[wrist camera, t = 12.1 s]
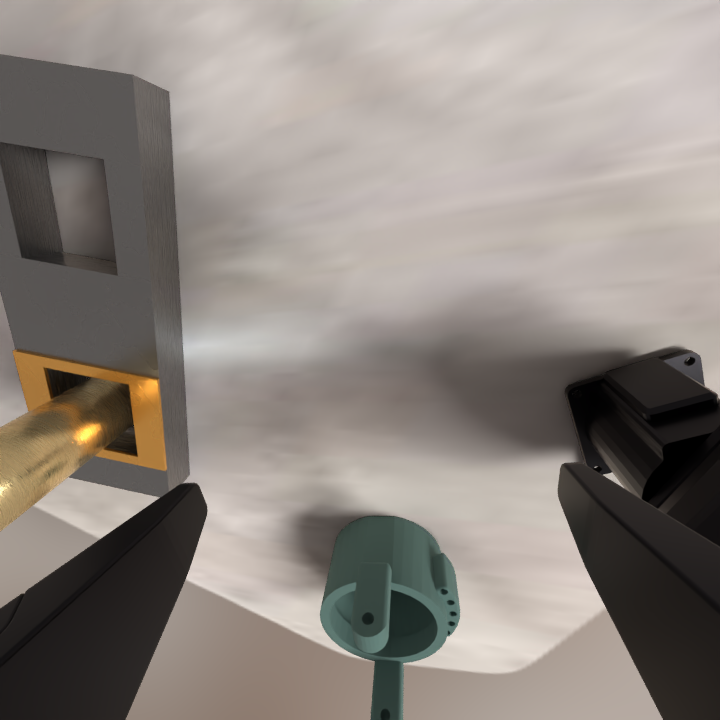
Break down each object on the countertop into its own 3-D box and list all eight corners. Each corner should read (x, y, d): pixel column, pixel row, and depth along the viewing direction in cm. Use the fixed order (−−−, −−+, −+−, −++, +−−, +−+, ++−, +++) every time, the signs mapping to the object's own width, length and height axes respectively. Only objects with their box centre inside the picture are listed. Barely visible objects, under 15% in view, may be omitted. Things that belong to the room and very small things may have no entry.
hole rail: (-4, 64, 18) (-70, 42, 15) (168, 91, 17) (129, 73, 15) (77, 450, 28) (45, 474, 25) (189, 474, 27) (167, 501, 25)
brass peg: (162, 395, 25) (-66, 573, 13) (135, 427, 26) (-93, 614, 14) (113, 356, 24) (-179, 506, 12) (87, 391, 25) (-195, 557, 14)
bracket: (390, 606, 30) (385, 754, 22) (308, 545, 29) (270, 681, 21) (475, 559, 27) (505, 711, 19) (388, 487, 26) (381, 620, 17)
